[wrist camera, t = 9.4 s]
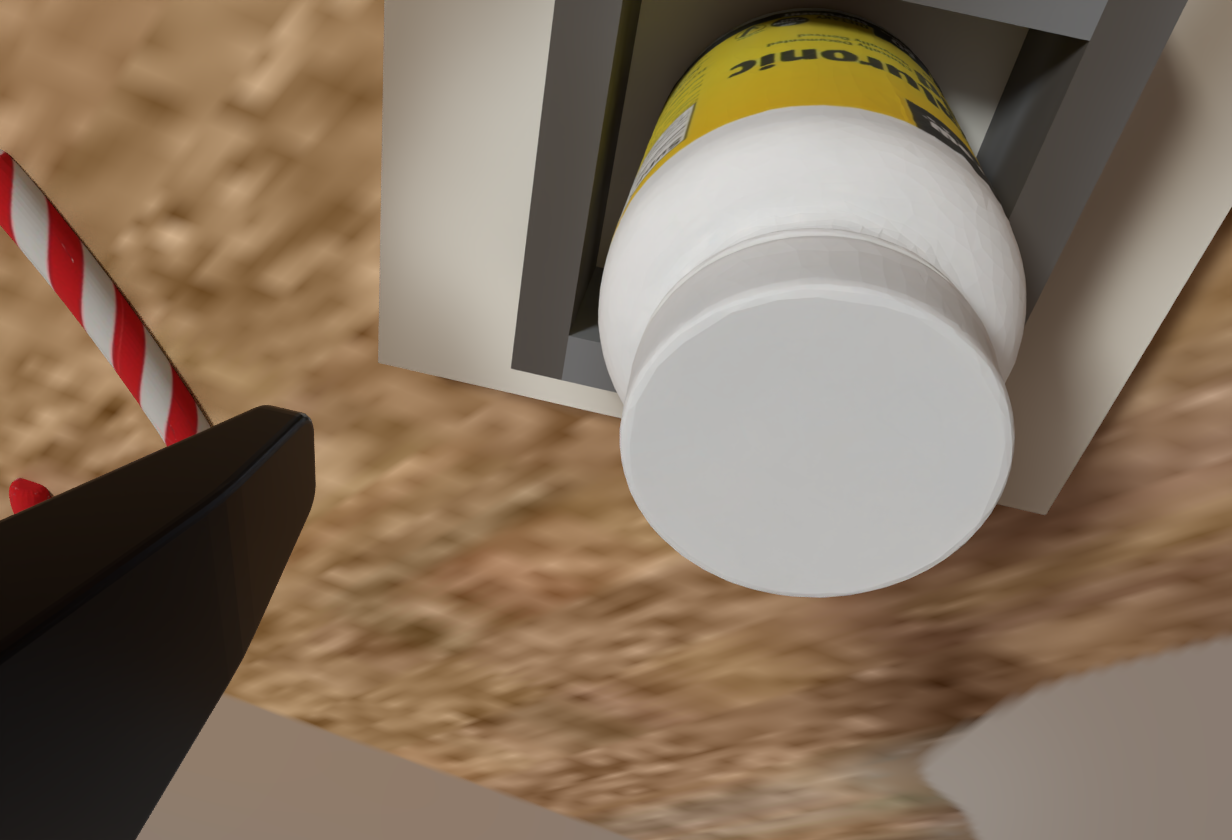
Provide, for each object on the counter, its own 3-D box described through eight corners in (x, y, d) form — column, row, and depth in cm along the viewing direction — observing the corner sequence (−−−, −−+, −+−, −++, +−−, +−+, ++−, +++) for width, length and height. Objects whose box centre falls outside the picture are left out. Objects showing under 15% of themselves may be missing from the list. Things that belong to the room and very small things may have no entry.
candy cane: (90, 158, 20) (270, 626, 29) (124, 140, 21) (289, 596, 30) (-203, 159, 22) (52, 608, 30) (-156, 142, 23) (77, 579, 31)
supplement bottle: (1010, 87, 16) (1237, 386, 8) (841, 324, 19) (885, 708, 11) (739, -62, 15) (695, 107, 7) (609, 209, 18) (481, 533, 11)
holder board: (1420, -207, 14) (1641, -206, 11) (1031, 475, 22) (1079, 610, 19) (424, -413, 15) (304, -480, 11) (399, 331, 23) (326, 435, 19)
